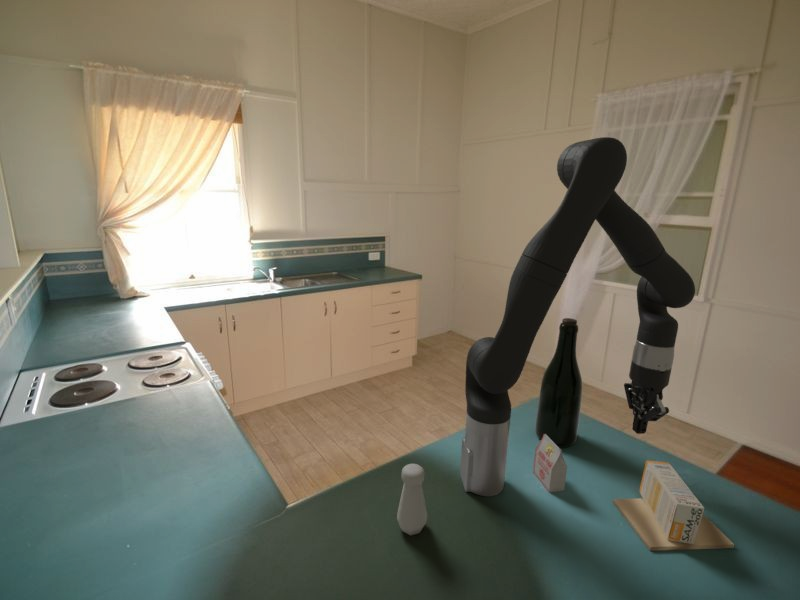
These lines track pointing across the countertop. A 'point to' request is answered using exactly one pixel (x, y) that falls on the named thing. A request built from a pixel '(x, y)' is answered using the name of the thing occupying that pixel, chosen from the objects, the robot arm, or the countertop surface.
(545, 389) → the dark green wine bottle
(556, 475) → the white printed carton box
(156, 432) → the countertop surface
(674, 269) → the robot arm
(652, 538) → the tan wooden board
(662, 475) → the supplement box
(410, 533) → the salt shaker
